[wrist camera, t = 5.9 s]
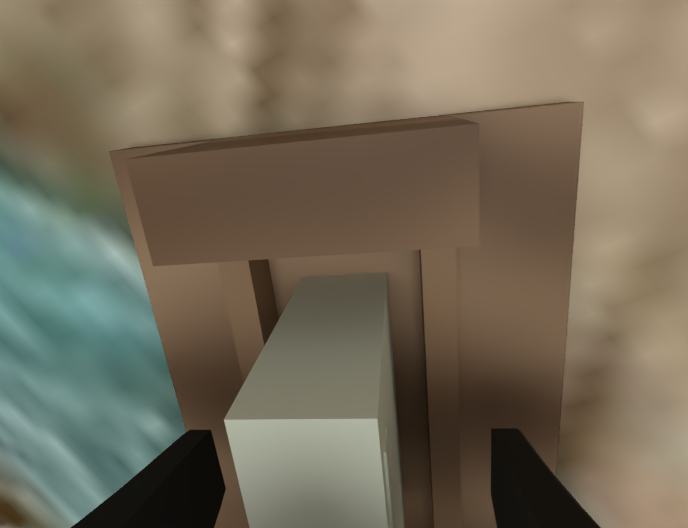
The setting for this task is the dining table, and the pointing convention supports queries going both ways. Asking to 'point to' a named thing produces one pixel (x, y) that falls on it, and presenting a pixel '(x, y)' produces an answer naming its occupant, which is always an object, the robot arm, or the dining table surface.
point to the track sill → (375, 257)
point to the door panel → (322, 412)
